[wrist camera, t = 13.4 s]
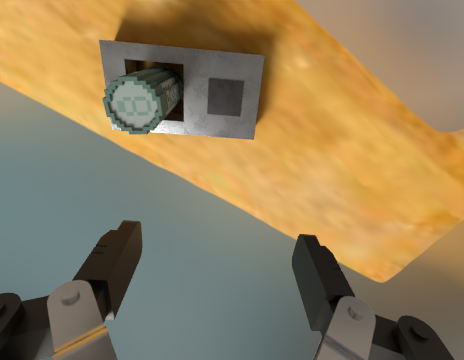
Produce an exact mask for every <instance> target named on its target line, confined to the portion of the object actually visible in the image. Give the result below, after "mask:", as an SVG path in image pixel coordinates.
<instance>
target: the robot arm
mask: <svg viewBox="0 0 464 360" xmlns="http://www.w3.org/2000/svg"><path fill="white" fill-rule="evenodd" d="M141 253H142V233H141V223H140V222H139V221H127V220H124V221H123V222H122V223H121V225H120V227H119V228H118V230H110V231H109V232H107V233H106V234H105V235H103V236H102V237H101V238H100V240H99V241H98V243H97V244H96V247H94V249H93V251H92V252H91V254H90V255H89V256H88V258H87V259H86V261H85V262H84V264H83V265H82V267H81V268H80V269H79V271H78V272H77V274H76V275H75V277H74V279H73V280H72V281H70V282H67V283H65V284H63V285H61V286H59V287H58V288H56V289H55V290H54V291H53V292H52V293H51V295H49V296H45V297H41V298H36V299H31V300H26V301H21V299H20V297H19V296H18V295H17V294H14V293H3V294H0V360H39V359H42V358H46V357H50V356H53V360H117V357H116V354H115V351H114V348H113V345H112V343H111V339H110V336H109V333H108V331H107V328H106V327H105V326H104V321H105V320H114V319H115V317H116V315H117V312H118V309H119V307H120V305H121V302H122V300H123V298H124V295H125V293H126V290H127V288H128V286H129V284H130V281H131V279H132V276H133V274H134V271H135V269H136V267H137V264H138V262H139V260H140V257H141ZM292 268H293V272H294V275H295V278H296V282H297V285H298V288H299V291H300V295H301V298H302V301H303V305H304V308H305V311H306V315H307V318H308V321H309V325H310V328H311V330H312V331H320V332H321V334H322V339H321V341H320V344H319V346H318V349H317V351H316V354H315V356H314V359H313V360H454V358H453V357H452V356H451V354H450V353H449V351H448V350H447V348H446V347H445V345H444V344H443V343H442V341H441V340H440V338H439V337H438V335H437V334H436V333H435V331H434V330H433V329H432V328H431V327H430V326H428V325H427V324H426V323H425V322H423V321H421V320H419V319H418V318H415V317H412V316H402V317H400V318H399V320H398V321H397V322H395V321H392V320H389V319H386V318H383V317H380V316H377V315H375V314H374V312H373V311H372V309H371V308H370V307H369V306H368V305H367V304H366V303H365V302H363V301H362V300H360V299H358V298H356V297H355V295H354V293H353V291H352V289H351V287H350V286H349V284H348V282H347V280H346V278H345V276H344V274H343V272H342V271H341V269H340V266H339V265H338V264H337V261H336V259H335V257H334V255H333V253H332V252H331V251H330V250H329V249H328V248H327V247H326V246H320V244H319V242H318V239H317V237H316V236H315V235H307V234H300V235H299V236H298V239H297V242H296V246H295V249H294V252H293V256H292Z"/></svg>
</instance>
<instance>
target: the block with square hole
mask: <svg viewBox="0 0 464 360" xmlns="http://www.w3.org/2000/svg"><path fill="white" fill-rule="evenodd" d="M99 43H100V50H101V57H102V64H103V71H104V77H105V84H106V89H108V87H107V86H108V85H111V84H110V81H113V80H117V77H119V76H123V75H127V74H130V73H134V72H137V63H136V60H142V61H153V62H164V63H175V64H184V114H182V113H170V112H169V114H168V115H167V116H166V117H165V118H164V119H163V120H162V122H161V123H160V124H159V125H158V126H157V127H156V128H155V130H150V132H158V133H171V134H185V135H198V136H211V137H225V138H238V139H252V140H254V134H255V126H256V119H257V111H258V103H259V96H260V88H261V81H262V73H263V65H264V58H265V56H264V55H260V54H249V53H239V52H228V51H218V50H207V49H196V48H186V47H175V46H165V45H154V44H144V43H133V42H123V41H111V40H99ZM110 118H111V117H110ZM111 125H112V129H118V130H121V128H117V125H116V124H113V123H112V119H111Z"/></svg>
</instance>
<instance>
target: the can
mask: <svg viewBox="0 0 464 360" xmlns="http://www.w3.org/2000/svg"><path fill="white" fill-rule="evenodd" d="M110 84H111V85H108V86H107V87H108V89H105V90H104V91H105V95H106V97H104V98H103V102H104V106H105V110H106V114H107V117H111V119H112V123H113V124H116V125H117V128H121V131H129V134H148V133H149V132H150V130H155V128H156V127H157V126H158V125H159V124H160V123H161V122H162V120H163V119H164V118H165V117H166V116H167V115H168V114H169V112H170V111H171V110H172V109H173V108H174V107H175V106H176V104H177V103H178V102H179V101H180V100H181V95H182V94H183V87H182V80H179V75H176V72H173V69H168V68H167V67H152V68H149V69H145V70H141V71H138V72H134V73H130V74H127V75H123V76H119V77H117V80H113V81H110Z"/></svg>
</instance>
